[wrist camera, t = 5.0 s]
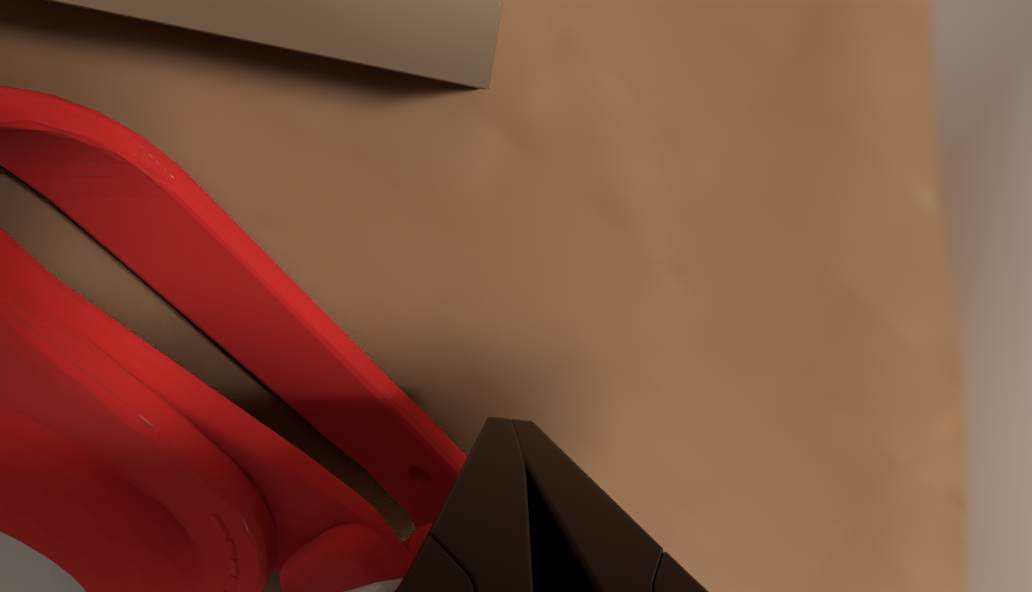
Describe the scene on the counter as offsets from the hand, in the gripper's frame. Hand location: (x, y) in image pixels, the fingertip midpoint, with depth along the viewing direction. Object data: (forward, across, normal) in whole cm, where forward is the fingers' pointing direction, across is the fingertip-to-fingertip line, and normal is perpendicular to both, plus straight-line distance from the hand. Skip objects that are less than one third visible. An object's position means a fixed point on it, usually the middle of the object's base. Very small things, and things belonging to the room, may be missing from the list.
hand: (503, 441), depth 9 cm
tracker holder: (+2, +6, +2) cm, 6 cm away
